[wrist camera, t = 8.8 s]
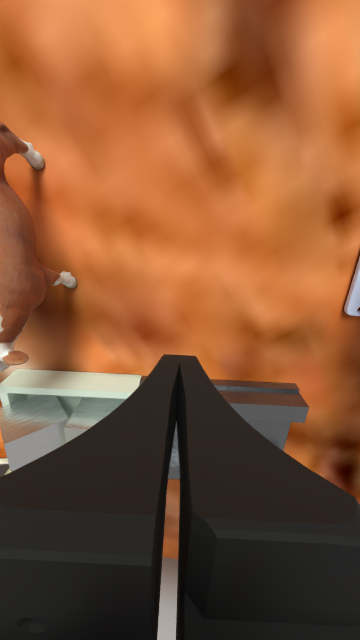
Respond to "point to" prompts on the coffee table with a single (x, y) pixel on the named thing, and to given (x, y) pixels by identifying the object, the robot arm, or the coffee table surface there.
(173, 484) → the coffee table surface
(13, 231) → the bull figurine
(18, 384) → the tray
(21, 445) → the chip
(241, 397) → the slot board
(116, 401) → the grey cube
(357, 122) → the coffee table surface
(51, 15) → the coffee table surface
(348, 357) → the coffee table surface
